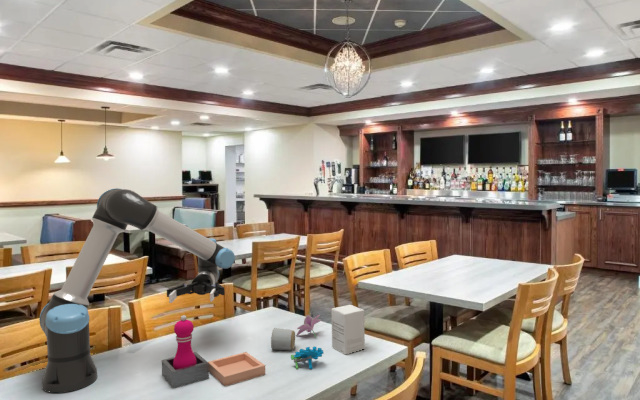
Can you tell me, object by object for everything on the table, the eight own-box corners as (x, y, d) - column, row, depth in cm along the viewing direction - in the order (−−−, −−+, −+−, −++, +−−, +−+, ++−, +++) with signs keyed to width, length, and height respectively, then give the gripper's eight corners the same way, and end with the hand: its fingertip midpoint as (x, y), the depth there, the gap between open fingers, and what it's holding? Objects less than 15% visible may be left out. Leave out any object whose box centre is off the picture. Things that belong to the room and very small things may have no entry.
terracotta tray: (224, 386, 138) (224, 376, 138) (207, 370, 149) (207, 361, 149) (265, 374, 146) (265, 365, 146) (246, 360, 157) (246, 351, 157)
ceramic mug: (293, 353, 163) (292, 332, 163) (270, 352, 164) (270, 331, 164) (297, 343, 174) (296, 323, 173) (276, 342, 174) (275, 322, 174)
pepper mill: (201, 375, 146) (200, 314, 145) (184, 383, 140) (182, 320, 139) (186, 370, 150) (184, 310, 149) (168, 378, 144) (166, 316, 143)
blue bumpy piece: (323, 354, 157) (322, 342, 150) (326, 371, 153) (324, 359, 146) (292, 360, 157) (289, 348, 149) (294, 377, 153) (291, 365, 145)
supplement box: (350, 342, 173) (350, 303, 172) (365, 349, 165) (365, 309, 165) (331, 347, 168) (330, 307, 167) (345, 355, 161) (344, 313, 160)
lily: (326, 334, 185) (317, 312, 188) (331, 332, 174) (321, 308, 177) (299, 346, 182) (290, 324, 184) (303, 345, 171) (293, 321, 174)
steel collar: (172, 388, 137) (172, 372, 137) (162, 375, 146) (161, 359, 146) (208, 378, 144) (208, 362, 143) (196, 366, 153) (195, 351, 153)
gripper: (236, 291, 175) (228, 307, 154) (170, 293, 173) (153, 310, 152) (235, 272, 174) (227, 286, 153) (170, 274, 173) (152, 288, 152)
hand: (190, 298), depth 153 cm, fingers open, 13 cm apart
